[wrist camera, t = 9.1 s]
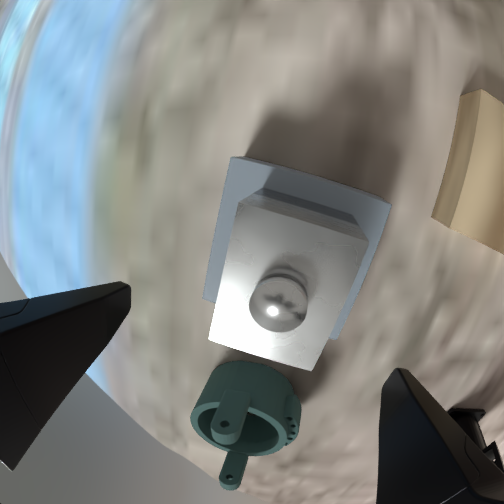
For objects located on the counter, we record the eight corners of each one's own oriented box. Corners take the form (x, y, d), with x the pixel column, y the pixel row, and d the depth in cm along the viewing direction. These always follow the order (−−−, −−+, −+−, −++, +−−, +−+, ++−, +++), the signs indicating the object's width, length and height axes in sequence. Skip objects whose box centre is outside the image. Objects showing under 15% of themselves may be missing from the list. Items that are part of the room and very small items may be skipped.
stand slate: (379, 196, 16) (391, 204, 14) (334, 315, 20) (336, 340, 17) (244, 156, 17) (230, 156, 15) (217, 279, 21) (202, 298, 18)
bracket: (246, 426, 26) (226, 492, 18) (189, 373, 25) (150, 441, 17) (318, 402, 23) (312, 482, 15) (261, 339, 22) (234, 425, 14)
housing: (352, 214, 14) (373, 249, 9) (314, 316, 17) (310, 383, 11) (262, 187, 15) (232, 206, 10) (236, 291, 17) (203, 349, 12)
